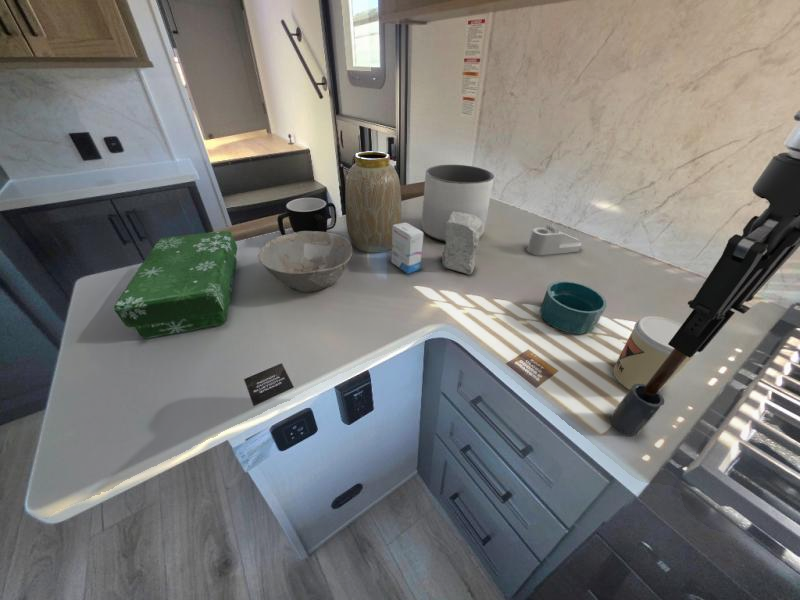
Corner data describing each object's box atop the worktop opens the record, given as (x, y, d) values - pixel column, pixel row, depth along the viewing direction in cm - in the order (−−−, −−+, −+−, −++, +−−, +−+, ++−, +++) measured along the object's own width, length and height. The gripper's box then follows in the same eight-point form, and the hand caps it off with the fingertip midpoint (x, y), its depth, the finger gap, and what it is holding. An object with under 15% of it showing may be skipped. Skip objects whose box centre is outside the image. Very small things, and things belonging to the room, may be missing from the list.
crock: (644, 429, 52) (670, 400, 47) (628, 440, 50) (653, 410, 46) (620, 409, 55) (643, 379, 50) (604, 419, 53) (625, 389, 49)
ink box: (421, 269, 91) (424, 231, 84) (407, 274, 89) (409, 235, 82) (404, 257, 96) (405, 220, 89) (390, 262, 94) (391, 224, 87)
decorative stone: (436, 270, 91) (442, 222, 82) (442, 255, 98) (448, 210, 89) (472, 276, 89) (481, 227, 80) (476, 261, 96) (485, 214, 87)
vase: (406, 253, 99) (410, 161, 83) (351, 258, 95) (343, 163, 79) (394, 230, 112) (395, 148, 96) (345, 234, 109) (338, 149, 92)
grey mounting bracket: (582, 251, 103) (592, 228, 98) (533, 256, 99) (540, 232, 95) (571, 243, 107) (579, 221, 102) (523, 247, 104) (530, 224, 99)
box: (231, 329, 69) (216, 291, 63) (133, 345, 64) (108, 306, 58) (243, 259, 93) (233, 228, 87) (172, 268, 88) (157, 235, 82)
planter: (413, 239, 107) (417, 178, 95) (429, 215, 124) (433, 161, 112) (479, 250, 102) (491, 186, 90) (486, 224, 119) (497, 168, 107)
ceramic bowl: (337, 315, 74) (333, 279, 68) (249, 300, 77) (237, 264, 71) (366, 268, 91) (364, 236, 85) (293, 257, 95) (286, 226, 89)
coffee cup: (611, 353, 66) (639, 308, 59) (665, 374, 61) (702, 328, 54) (604, 382, 60) (634, 335, 52) (663, 408, 55) (705, 361, 48)
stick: (656, 395, 48) (744, 288, 36) (650, 399, 47) (737, 292, 35) (646, 387, 49) (728, 281, 37) (639, 391, 48) (721, 284, 36)
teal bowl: (606, 326, 73) (618, 304, 69) (569, 341, 68) (580, 319, 64) (563, 297, 81) (572, 276, 78) (528, 309, 77) (535, 288, 73)
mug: (300, 227, 112) (294, 193, 105) (343, 231, 110) (340, 197, 103) (277, 247, 100) (268, 210, 92) (325, 253, 97) (320, 216, 90)
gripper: (812, 144, 33) (685, 316, 47) (742, 155, 28) (623, 345, 42) (929, 160, 28) (746, 349, 42) (870, 178, 22) (684, 387, 37)
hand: (685, 347), depth 42 cm, fingers closed on stick, 1 cm apart
